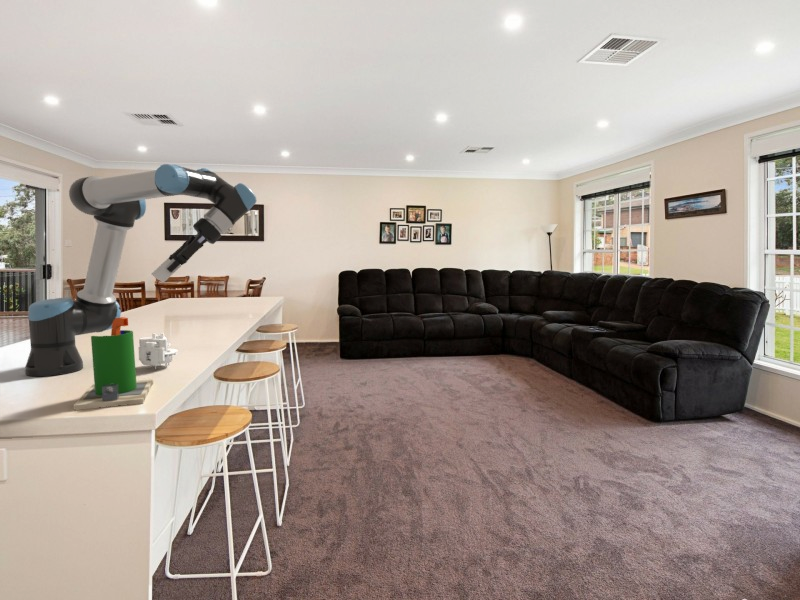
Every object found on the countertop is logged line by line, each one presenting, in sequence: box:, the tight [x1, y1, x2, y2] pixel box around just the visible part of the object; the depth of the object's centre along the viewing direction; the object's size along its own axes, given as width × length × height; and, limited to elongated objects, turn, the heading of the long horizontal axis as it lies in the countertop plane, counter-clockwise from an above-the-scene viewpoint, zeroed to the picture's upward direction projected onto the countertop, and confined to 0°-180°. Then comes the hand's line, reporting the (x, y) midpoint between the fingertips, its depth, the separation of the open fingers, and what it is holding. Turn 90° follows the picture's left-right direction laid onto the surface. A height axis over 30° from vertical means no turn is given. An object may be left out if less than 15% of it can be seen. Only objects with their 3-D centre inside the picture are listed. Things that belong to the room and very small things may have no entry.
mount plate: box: [73, 378, 154, 411], centre depth 126 cm, size 21×15×1 cm
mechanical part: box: [138, 332, 179, 370], centre depth 156 cm, size 11×12×12 cm
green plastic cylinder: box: [90, 316, 137, 395], centre depth 125 cm, size 10×9×20 cm
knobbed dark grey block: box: [102, 383, 119, 401], centre depth 118 cm, size 3×3×4 cm
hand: (156, 278), depth 128 cm, fingers open, 13 cm apart
